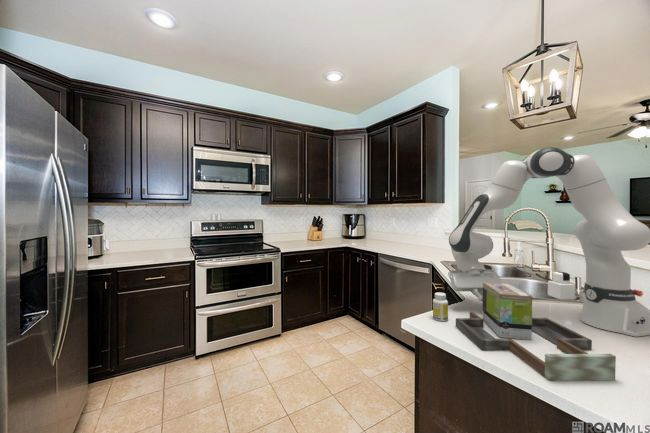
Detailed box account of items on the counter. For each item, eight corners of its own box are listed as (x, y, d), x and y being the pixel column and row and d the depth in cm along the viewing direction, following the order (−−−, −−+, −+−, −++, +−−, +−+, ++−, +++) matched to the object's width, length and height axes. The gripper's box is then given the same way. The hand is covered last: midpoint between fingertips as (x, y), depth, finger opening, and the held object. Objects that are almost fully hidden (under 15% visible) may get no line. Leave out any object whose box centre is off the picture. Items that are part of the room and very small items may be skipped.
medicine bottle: (561, 294, 130) (561, 270, 130) (575, 299, 123) (575, 274, 123) (547, 295, 130) (547, 270, 129) (560, 299, 123) (561, 274, 122)
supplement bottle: (446, 316, 105) (446, 292, 104) (449, 322, 99) (449, 296, 99) (432, 315, 106) (432, 291, 106) (433, 320, 101) (433, 295, 101)
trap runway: (533, 319, 101) (533, 303, 101) (648, 380, 65) (649, 356, 65) (448, 319, 102) (448, 304, 101) (515, 380, 65) (515, 356, 65)
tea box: (533, 340, 85) (533, 295, 85) (498, 338, 87) (499, 293, 87) (510, 321, 100) (510, 282, 100) (481, 319, 102) (481, 281, 102)
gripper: (449, 266, 113) (460, 296, 104) (497, 266, 113) (512, 296, 104) (444, 274, 118) (454, 303, 108) (490, 274, 118) (504, 303, 108)
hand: (483, 300), depth 106 cm, fingers closed
